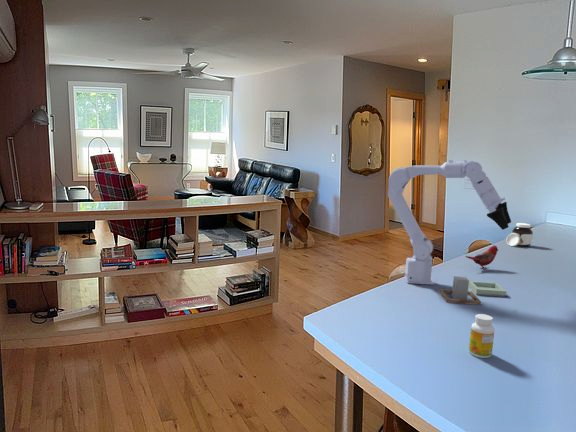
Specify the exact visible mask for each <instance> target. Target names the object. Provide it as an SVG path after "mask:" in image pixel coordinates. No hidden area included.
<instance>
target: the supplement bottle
mask: <svg viewBox="0 0 576 432" xmlns="http://www.w3.org/2000/svg"><path fill="white" fill-rule="evenodd" d="M474 317H475V318H474V322H473V323H472V324H471V326H470V327H471V328H470V337H469V343H468V344H469V345H468V353H470V355H472V356H474V357H476V358H480V359H488V358H490V357H492V354H493V346H494V338H495V327H494V326H493V325H492V324H493V320H494V318H493V317H492V316H491V315H488V314H485V313H478V314H475V316H474Z"/></svg>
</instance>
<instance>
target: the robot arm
mask: <svg viewBox="0 0 576 432" xmlns="http://www.w3.org/2000/svg"><path fill="white" fill-rule="evenodd" d="M423 175H424V176H425V175H426V176H427V175H428V176H429V175H430V176H431V175H442V177H444V178H445V179H464V178H465V177H467V178H469V180H470V182H471V184H472V187H473V188H474V190H475V192H476V194H477V195H478V197H479V199H480V201H481V202H482V204H483V205H484V208H485V209H486V210H488V213H487V214H486V216H487V217H488V218H489V219H490V220H492V221H493V222H495V223H496V224H497V226H498V227H499V228H501V230H506V229H507V228H509V227H510V226H509V224H511V223H512V220H511V216H510V214H509V210H508V205H507V204H508V202H507V201H505V200H506V198H505V196H504V197H502V198H501V196H500V195H499V193H498V191H497V189H496V188H495V187H494V185H493V183H492V181H491V179H490V178H489V177H488V175H487V174H486V173H485V171H484V170H483V166H482V165H481V164H480V162H478V161H474V160H470V161H469V162H468V160H467V159H466V160H463V161H454V160H453V159H451V160H448V161H446V162H444V163H443V164H442V165H416V164H415V165H411V166H410V165H409V166H405V167H397V168H394V169H393V170H392V171H391V173H390V175H389V177H388V182H387V183H388V188H387V198H388V200H389V201H390V203H391V205H392V207H393V208H394V211H395V213H396V215H397V216H398V218H399V220H400V222H401V224H402V226H403V227H404V229H405V231H406V233H407V235H408V237H409V240H410V244H411V246H412V253H413V255H412V257H406V260H405V267H404V268H405V270H404V277H403V278H404V279H405V281H406V283H407V284H415V285H417V284H419V285H432V286H433V285H434V283H433V281H432V272H433V271H432V268H433V256H432V253H433V251H434V244H433V242H432V241H431V240H430V239H428V238H427V236H426V234H425V233H424V232H423V231H422V229H421V228H420V225H419V224H418V222H417V220H416V218H415V216H414V214H413V212H412V211H411V209H410V207H409V205H408V203H407V201H406V199H405V198H404V196H403V193H404V190H405V188H406V186H407V184H408V183H409V182H410V181H411V179H413V178H416V177H418V176H423ZM503 201H504V202H503Z"/></svg>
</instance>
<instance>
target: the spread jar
mask: <svg viewBox="0 0 576 432" xmlns="http://www.w3.org/2000/svg"><path fill="white" fill-rule="evenodd" d="M531 226H532V225H531V224H529V223H525V222H517V223H516V224H515V227H514V228H513V229H512V231H511V233H509V234H508V235H507V236H506V238H505V241H506V244H507V245H508V246H510V247H515V246H517V247H520V246H521V247H523V248H526V247H530V246H531V245H532V244H533V237H534V232H533V230H532V229H531ZM521 247H520V248H521Z"/></svg>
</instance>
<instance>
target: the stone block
mask: <svg viewBox="0 0 576 432" xmlns="http://www.w3.org/2000/svg"><path fill="white" fill-rule="evenodd" d="M469 281H470V280H469V279H468V278H467V277H466V276H453V281H452V283H453V284H452V289H451V290H452V294H451V297H452V299H462V300H468V291H469Z"/></svg>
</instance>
